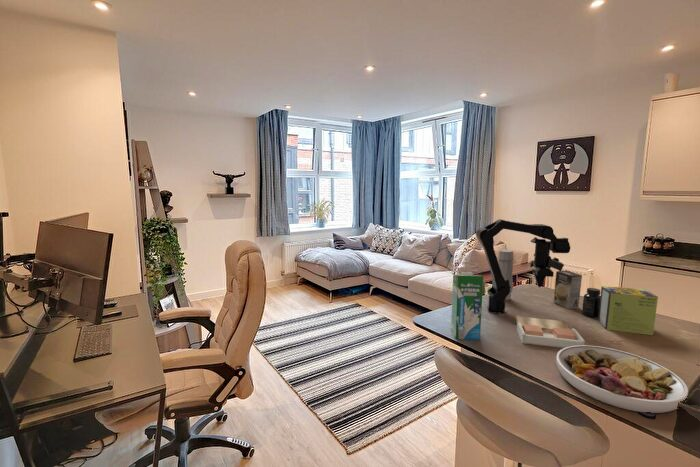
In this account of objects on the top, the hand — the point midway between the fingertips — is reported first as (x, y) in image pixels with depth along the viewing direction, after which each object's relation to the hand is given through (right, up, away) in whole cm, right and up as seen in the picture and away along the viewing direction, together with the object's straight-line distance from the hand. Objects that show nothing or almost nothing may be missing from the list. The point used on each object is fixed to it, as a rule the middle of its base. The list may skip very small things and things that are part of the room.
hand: (539, 286), depth 154 cm
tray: (-11, -16, -25) cm, 32 cm away
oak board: (-7, -14, -15) cm, 22 cm away
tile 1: (-15, -15, -22) cm, 30 cm away
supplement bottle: (+22, -13, -2) cm, 25 cm away
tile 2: (-5, -15, -25) cm, 30 cm away
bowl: (-8, -21, -53) cm, 58 cm away
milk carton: (-41, -16, -20) cm, 48 cm away
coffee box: (+18, -11, +10) cm, 24 cm away
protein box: (+26, -14, -15) cm, 33 cm away
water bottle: (-7, -10, +19) cm, 23 cm away
